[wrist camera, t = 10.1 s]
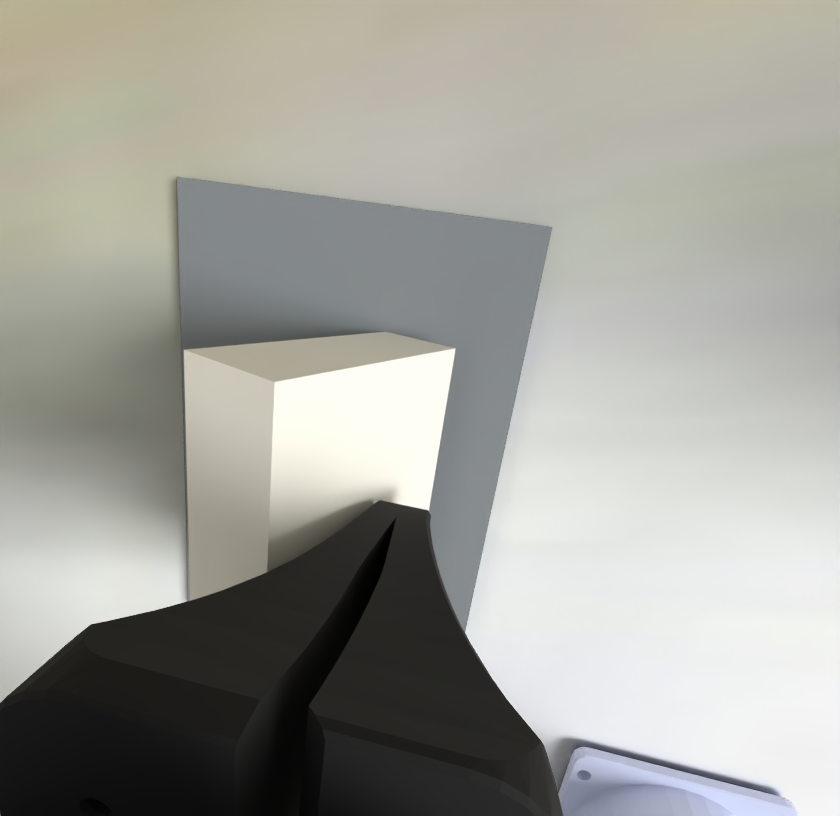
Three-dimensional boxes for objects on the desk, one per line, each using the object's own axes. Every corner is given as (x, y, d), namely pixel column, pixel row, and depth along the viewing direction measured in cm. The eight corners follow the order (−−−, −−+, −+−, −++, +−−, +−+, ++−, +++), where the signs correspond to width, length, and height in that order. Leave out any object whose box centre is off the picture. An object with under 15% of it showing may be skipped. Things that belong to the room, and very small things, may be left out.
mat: (456, 667, 17) (455, 676, 17) (194, 603, 18) (188, 610, 18) (550, 228, 12) (552, 226, 12) (185, 179, 14) (177, 177, 13)
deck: (412, 608, 15) (259, 773, 10) (356, 575, 16) (191, 708, 11) (455, 348, 12) (274, 381, 7) (384, 331, 14) (182, 349, 8)
